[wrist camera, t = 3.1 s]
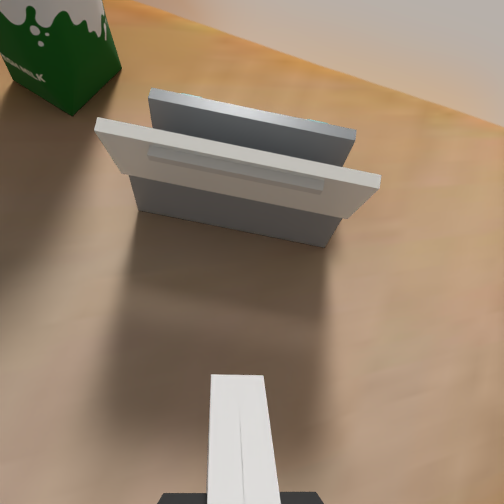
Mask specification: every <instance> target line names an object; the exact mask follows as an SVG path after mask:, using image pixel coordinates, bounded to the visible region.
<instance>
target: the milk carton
mask: <svg viewBox="0 0 504 504" xmlns="http://www.w3.org/2000/svg"><path fill="white" fill-rule="evenodd" d="M0 53H1V56H2V58H3V60H4V62H5V64H6V66H7V68H8V70H9V72H10V75H11V77H12V79H13V80H14V81H16V82H17V83H19V84H21V85H22V86H24V87H25V88H27V89H29V90H30V91H32V92H34V93H35V94H37V95H38V96H40V97H42V98H43V99H45V100H47V101H48V102H50V103H51V104H53V105H55V106H56V107H58V108H60V109H61V110H63V111H64V112H66V113H68V114H69V115H71V116H73V115H74V114H75V113H76V112H77V111H78V110H79V109H80V108H81V107H82V106H83V105H84V104H85V103H87V102H88V101H89V100H90V99H91V98H92V97H93V96H94V95H95V94H96V93H97V92H98V91H99V90H100V89H101V88H102V87H103V86H104V85H105V84H106V83H107V82H108V81H109V80H110V79H111V78H112V77H114V76H115V75H116V74H117V73H118V72H119V71H120V70H121V69H122V67H121V64H120V61H119V57H118V54H117V51H116V48H115V45H114V41H113V38H112V35H111V32H110V28H109V25H108V22H107V19H106V15H105V11H104V6H103V2H102V0H0Z"/></svg>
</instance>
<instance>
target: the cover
mask: <svg viewBox="0 0 504 504" xmlns="http://www.w3.org/2000/svg"><path fill="white" fill-rule="evenodd" d="M94 131H95V133H96V134H97V136H98V137H99V139H100V141H101V142H102V144H103V145H104V147H105V148H106V150H107V151H108V153H109V154H110V156H111V158H112V159H113V161H114V162H115V164H116V165H117V167H118V168H119V170H120V171H121V173H122V174H126V175H131V176H136V177H141V178H146V179H151V180H156V181H161V182H166V183H171V184H176V185H181V186H186V187H191V188H195V189H200V190H205V191H210V192H215V193H220V194H225V195H230V196H235V197H240V198H245V199H250V200H255V201H260V202H265V203H270V204H274V205H279V206H284V207H289V208H294V209H299V210H304V211H309V212H314V213H319V214H324V215H329V216H334V217H339V218H344V219H348V218H349V217H350V216H351V215H352V214H353V213H354V212H355V211H356V210H358V209H359V208H360V207H361V206H362V205H363V204H364V203H365V202H366V201H367V200H368V199H369V198H370V197H371V196H372V195H373V194H374V193H375V192H376V191H377V190H379V188H380V181H381V175H378V174H373V173H368V172H364V171H359V170H354V169H349V168H344V167H339V166H334V165H329V164H324V163H320V162H315V161H310V160H305V159H300V158H295V157H290V156H285V155H281V154H276V153H271V152H266V151H261V150H256V149H251V148H246V147H241V146H237V145H232V144H227V143H222V142H217V141H212V140H207V139H202V138H198V137H193V136H188V135H183V134H178V133H173V132H168V131H163V130H158V129H154V128H149V127H144V126H139V125H134V124H129V123H124V122H119V121H115V120H110V119H105V118H100V117H97V121H96V125H95V128H94Z"/></svg>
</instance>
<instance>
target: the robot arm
mask: <svg viewBox="0 0 504 504" xmlns="http://www.w3.org/2000/svg"><path fill="white" fill-rule="evenodd" d="M157 504H324V503H323V502H322V500H321V499H320V497H319V496H318V494H317V493H316V492H279V487H278V479H277V472H276V465H275V457H274V450H273V443H272V435H271V428H270V421H269V413H268V406H267V399H266V391H265V384H264V377H263V375H218V374H211V390H210V411H209V432H208V455H207V486H206V493H163V495H162V497H161V498H160V500H159V502H158V503H157Z"/></svg>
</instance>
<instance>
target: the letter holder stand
mask: <svg viewBox="0 0 504 504" xmlns="http://www.w3.org/2000/svg"><path fill="white" fill-rule="evenodd" d="M148 101H149V108H150V114H151V120H152V127H153V128H154V129H158V130H163V131H168V132H173V133H178V134H183V135H188V136H193V137H198V138H202V139H207V140H212V141H217V142H222V143H227V144H232V145H237V146H241V147H246V148H251V149H256V150H261V151H266V152H271V153H276V154H281V155H285V156H290V157H295V158H300V159H305V160H310V161H315V162H320V163H324V164H329V165H334V166H339V167H342V166H343V164H344V162H345V160H346V158H347V156H348V154H349V152H350V150H351V148H352V146H353V144H354V142H355V139H356V130H354V129H349V128H344V127H340V126H335V125H330V124H328V123H324V122H319V121H315V120H310V119H307V120H306V119H301V118H296V117H291V116H286V115H281V114H277V113H272V112H267V111H262V110H257V109H252V108H248V107H243V106H238V105H233V104H228V103H223V102H218V101H214V100H209V99H204V98H202V97H198V96H193V95H189V94H184V93H181V94H180V93H175V92H170V91H165V90H160V89H156V88H151V90H150V93H149V96H148ZM129 178H130V181H131V185H132V189H133V192H134V196H135V200H136V203H137V207H138V210H140V211H145V212H150V213H155V214H160V215H165V216H170V217H175V218H180V219H185V220H190V221H195V222H199V223H204V224H209V225H214V226H219V227H224V228H229V229H234V230H239V231H244V232H249V233H254V234H259V235H264V236H269V237H274V238H279V239H284V240H289V241H294V242H299V243H304V244H309V245H314V246H319V247H324V248H325V246H326V245H327V243H328V241H329V240H330V238H331V236H332V235H333V233H334V231H335V230H336V228H337V226H338V225H339V223H340V221H341V220H342V218H339V217H334V216H329V215H324V214H319V213H314V212H309V211H304V210H299V209H294V208H289V207H284V206H279V205H274V204H270V203H265V202H260V201H255V200H250V199H245V198H240V197H235V196H230V195H225V194H220V193H215V192H210V191H205V190H200V189H195V188H191V187H186V186H181V185H176V184H171V183H166V182H161V181H156V180H151V179H146V178H141V177H136V176H131V175H129Z"/></svg>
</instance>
